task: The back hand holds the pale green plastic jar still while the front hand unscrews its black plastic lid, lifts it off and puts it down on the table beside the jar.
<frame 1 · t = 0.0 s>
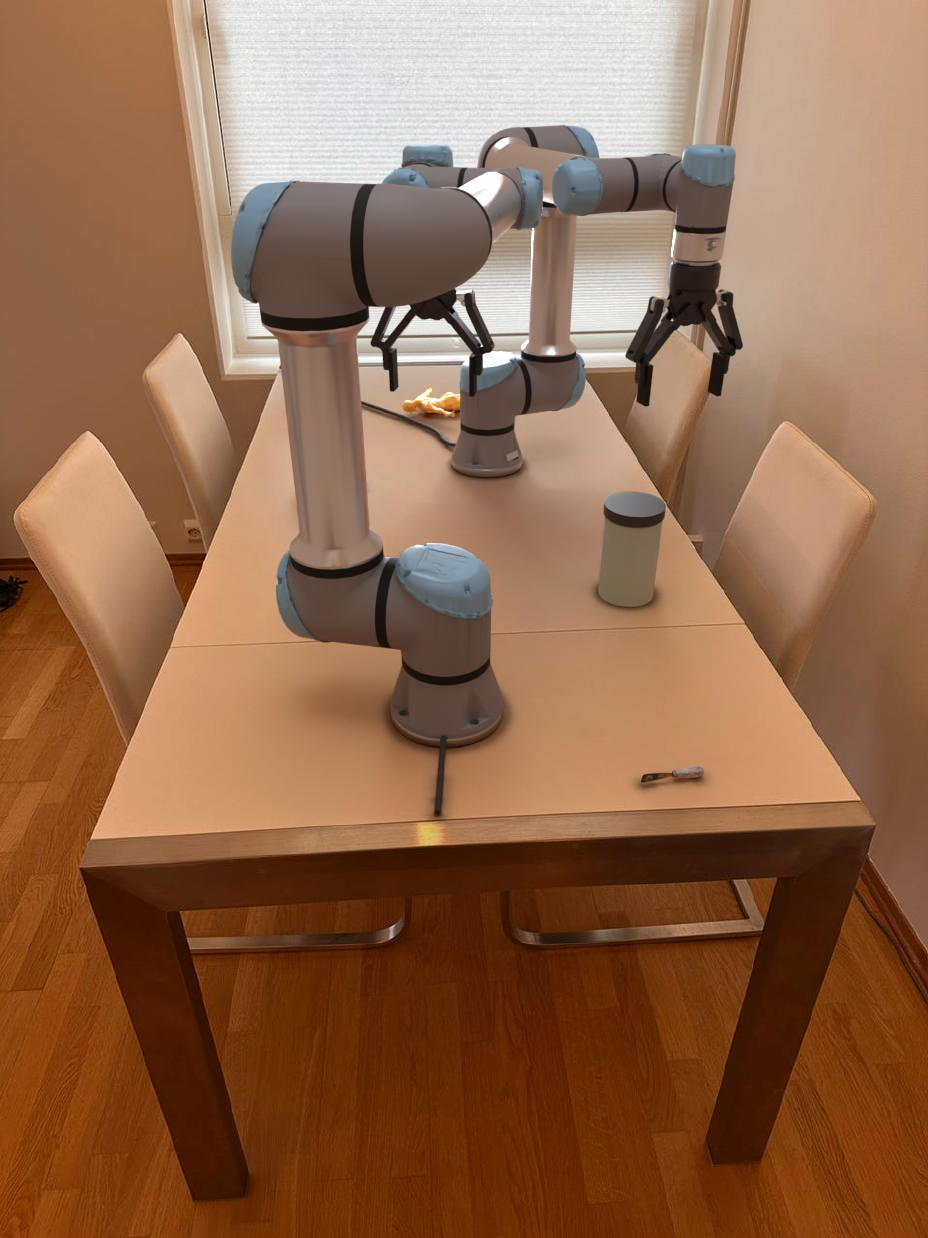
front hand: (433, 391, 149), 28 cm above the table, tool pointing down, fingers open, 13 cm apart
back hand: (678, 398, 146), 28 cm above the table, tool pointing down, fingers open, 13 cm apart
handgun: (337, 501, 179), on the table
putty knife: (671, 781, 109), on the table
jar: (625, 593, 148), on the table
human figure: (450, 410, 226), on the table
stone: (333, 590, 149), on the table
lid: (634, 505, 140), point 16 cm above the table, screwed on, not yet turned
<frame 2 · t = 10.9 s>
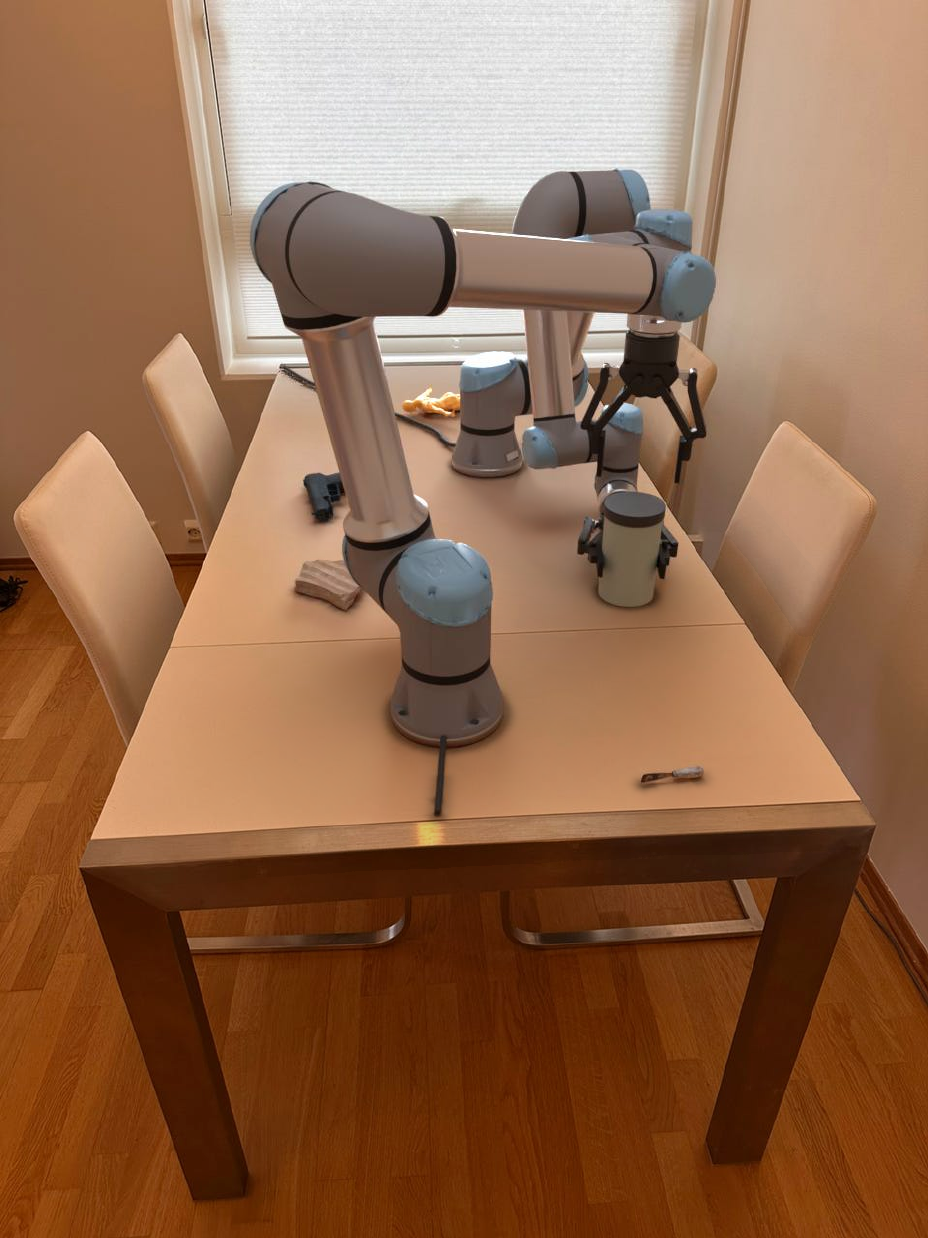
front hand: (637, 476, 137), 21 cm above the table, tool pointing down, fingers open, 11 cm apart
back hand: (631, 570, 141), 7 cm above the table, tool horizontal, fingers closed on jar, 9 cm apart
jar: (625, 593, 148), on the table, touching back hand
everything else where it was.
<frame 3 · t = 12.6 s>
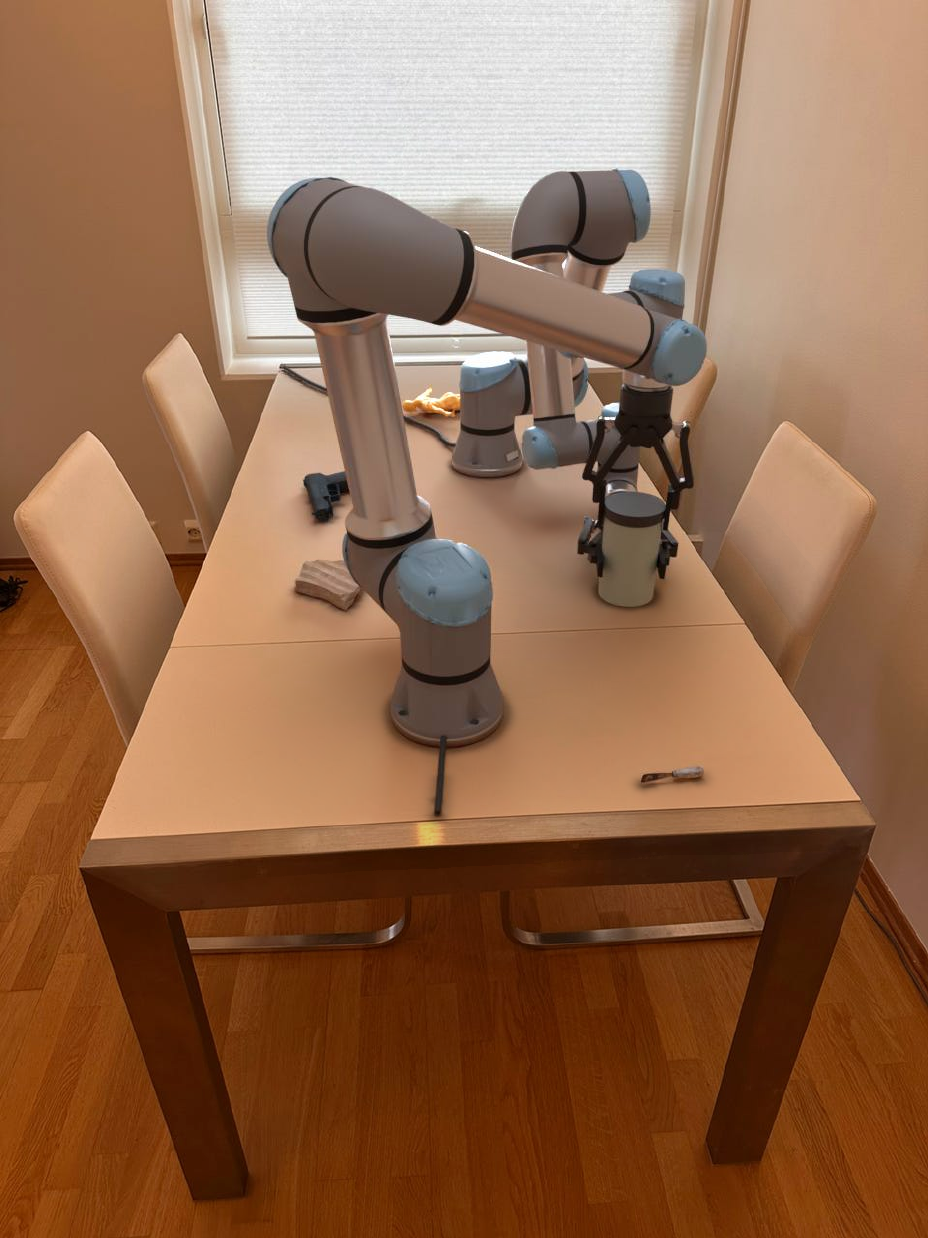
front hand: (632, 523, 141), 13 cm above the table, tool pointing down, fingers closed on lid, 9 cm apart
back hand: (631, 570, 141), 7 cm above the table, tool horizontal, fingers closed on jar, 9 cm apart
jar: (625, 593, 148), on the table, touching back hand
lid: (634, 505, 140), point 16 cm above the table, screwed on, not yet turned, touching front hand
everything else where it was.
when the front hand's fingers open (13 cm above the table, at t = 14.2 s): lid stays where it is, point 16 cm above the table.
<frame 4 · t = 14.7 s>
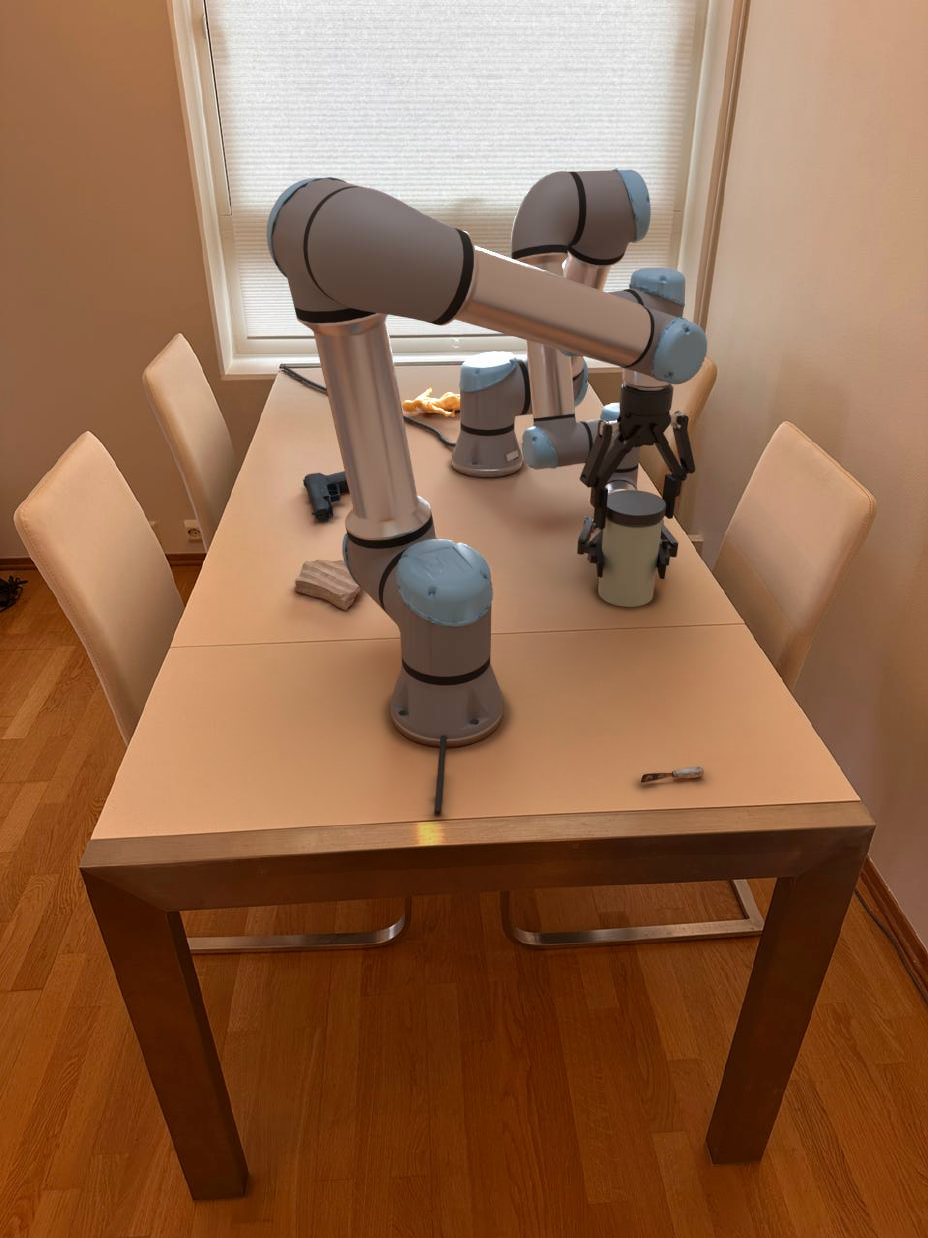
front hand: (633, 520, 141), 13 cm above the table, tool pointing down, fingers open, 11 cm apart
back hand: (631, 570, 141), 7 cm above the table, tool horizontal, fingers closed on jar, 9 cm apart
jar: (625, 593, 148), on the table, touching back hand
lid: (634, 504, 139), point 16 cm above the table, turned 87° so far, risen 0.2 cm, still on its thread
everything else where it was.
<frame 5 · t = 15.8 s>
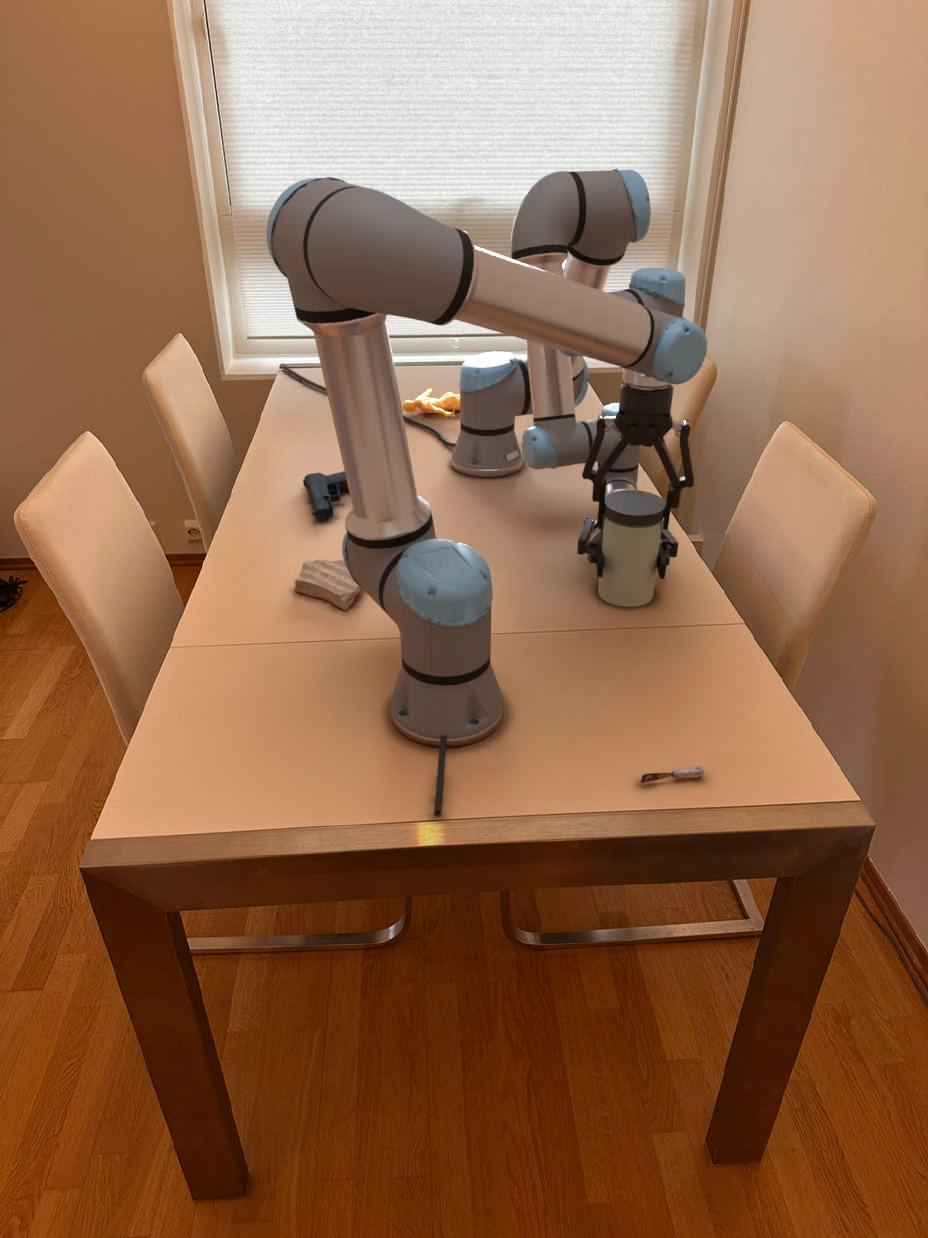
front hand: (632, 522, 141), 13 cm above the table, tool pointing down, fingers closed on lid, 9 cm apart
back hand: (631, 570, 141), 7 cm above the table, tool horizontal, fingers closed on jar, 9 cm apart
jar: (625, 593, 148), on the table, touching back hand
lid: (634, 504, 139), point 16 cm above the table, turned 87° so far, risen 0.2 cm, still on its thread, touching front hand
everything else where it was.
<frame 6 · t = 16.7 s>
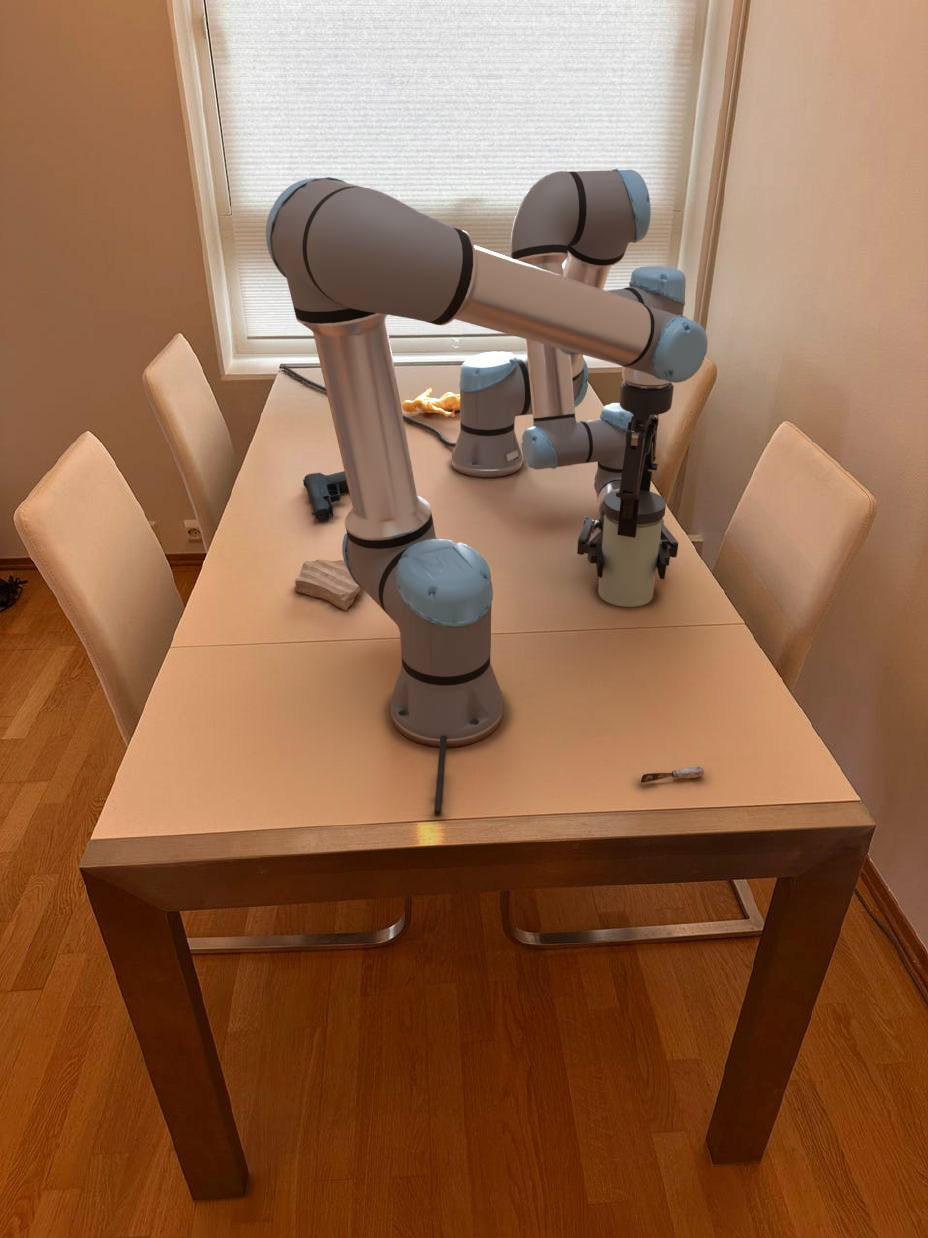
front hand: (632, 521, 141), 13 cm above the table, tool pointing down, fingers closed on lid, 9 cm apart
back hand: (631, 570, 141), 7 cm above the table, tool horizontal, fingers closed on jar, 9 cm apart
jar: (625, 593, 148), on the table, touching back hand
lid: (634, 503, 139), point 16 cm above the table, off its thread, touching front hand
everything else where it was.
when the front hand's fingers open (0 cm above the table, at t = 22.0 s): lid drops 2 cm, point 1 cm above the table.
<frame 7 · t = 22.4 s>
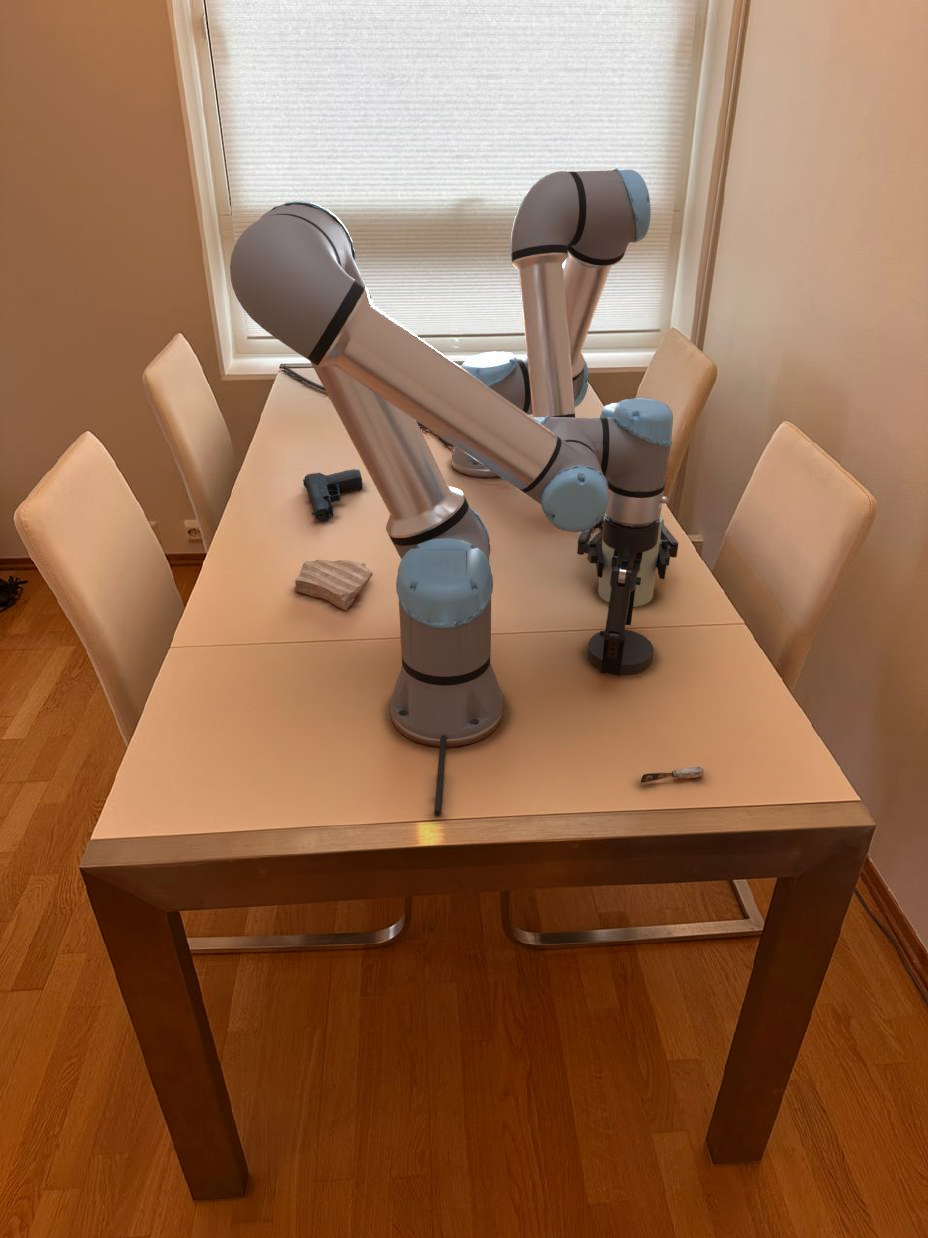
front hand: (616, 647, 131), 2 cm above the table, tool pointing down, fingers open, 13 cm apart
back hand: (631, 570, 141), 7 cm above the table, tool horizontal, fingers closed on jar, 9 cm apart
jar: (625, 593, 148), on the table, touching back hand
lid: (620, 648, 131), point 1 cm above the table, off its thread
everything else where it was.
when the back hand's fingers open (7 cm above the table, at t = 23.0 s): jar stays where it is, on the table.
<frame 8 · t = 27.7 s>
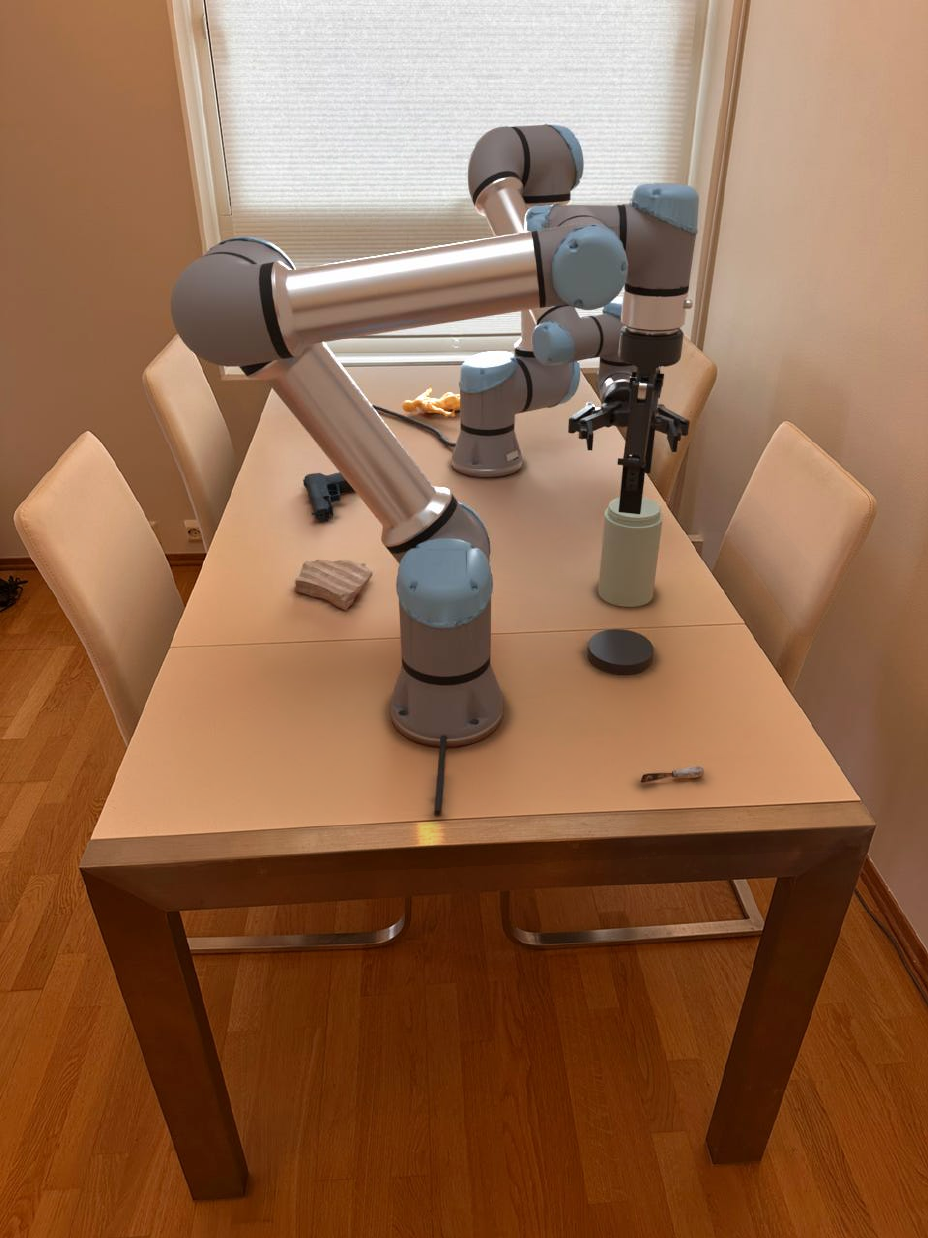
front hand: (635, 491, 118), 26 cm above the table, tool pointing down, fingers open, 13 cm apart
back hand: (632, 443, 144), 22 cm above the table, tool horizontal, fingers open, 13 cm apart
jar: (625, 593, 148), on the table
everything else where it was.
at the end: lid came off its thread; lid point 1.4 cm above the table; the front hand is holding nothing; the back hand is holding nothing; jar tilted 0°; jar moved 0.0 cm from its start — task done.
